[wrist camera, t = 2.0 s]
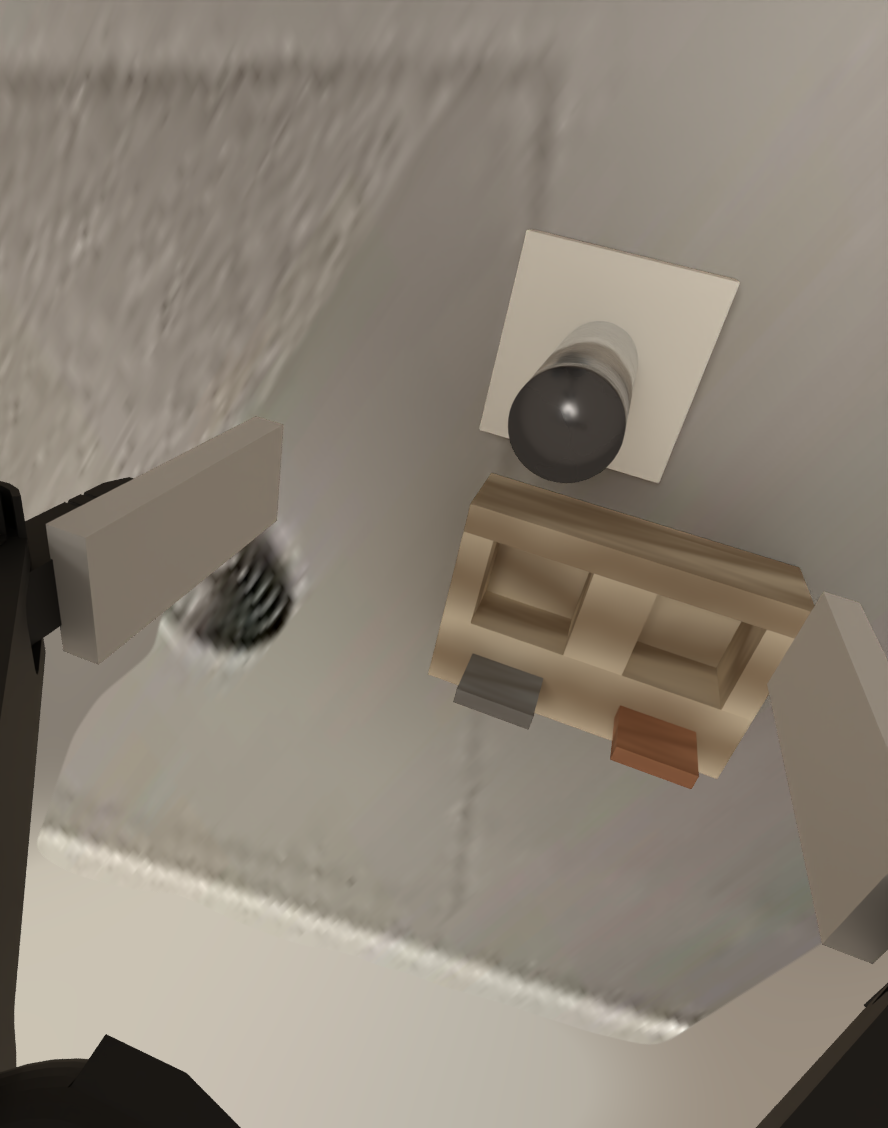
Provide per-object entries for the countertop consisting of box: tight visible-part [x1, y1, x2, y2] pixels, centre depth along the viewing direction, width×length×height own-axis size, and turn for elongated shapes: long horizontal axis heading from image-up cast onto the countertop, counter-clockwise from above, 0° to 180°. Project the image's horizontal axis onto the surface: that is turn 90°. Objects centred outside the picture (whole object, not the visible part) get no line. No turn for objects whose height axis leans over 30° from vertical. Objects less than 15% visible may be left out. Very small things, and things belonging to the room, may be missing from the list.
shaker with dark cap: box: [508, 321, 638, 483], centre depth 28 cm, size 4×4×12 cm
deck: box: [479, 229, 740, 483], centre depth 34 cm, size 10×10×2 cm
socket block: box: [428, 473, 814, 789], centre depth 37 cm, size 12×18×8 cm, turn 78°
